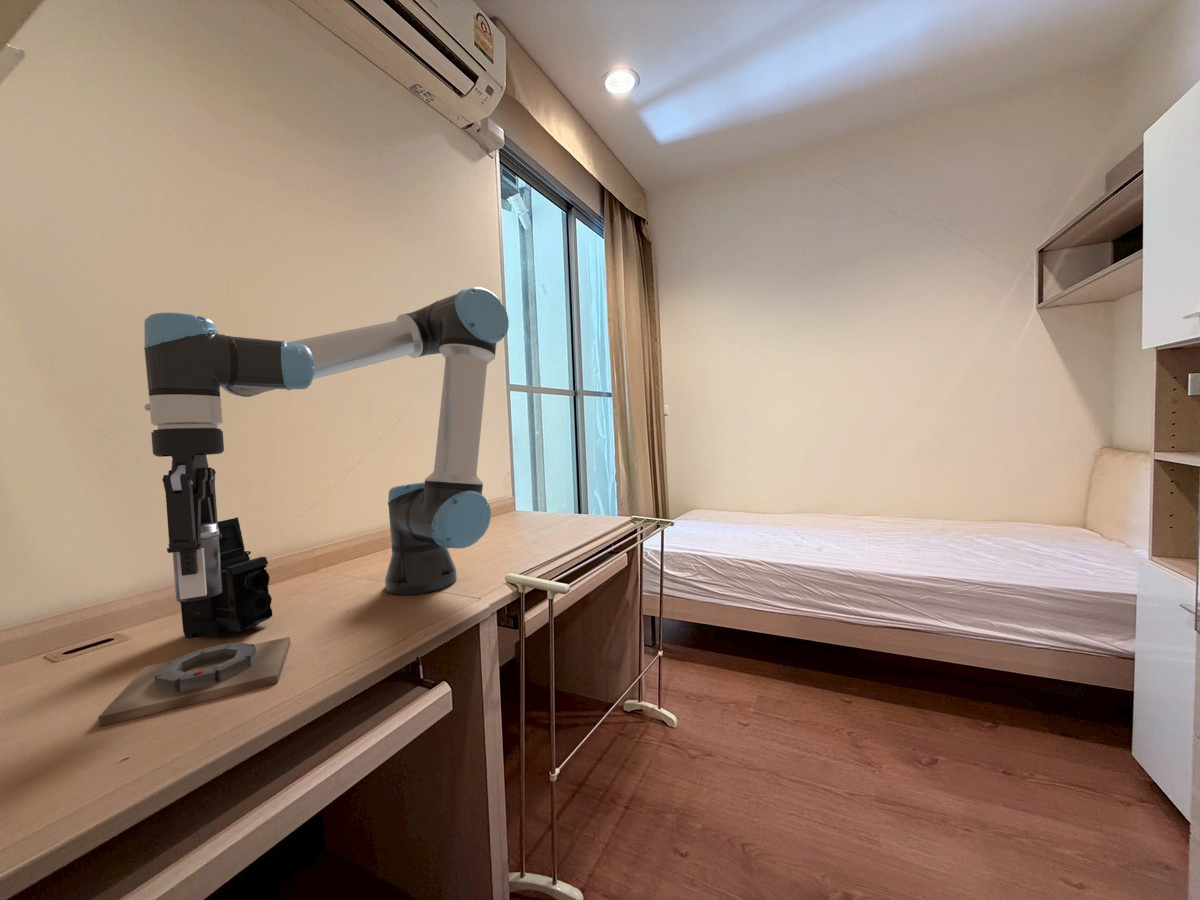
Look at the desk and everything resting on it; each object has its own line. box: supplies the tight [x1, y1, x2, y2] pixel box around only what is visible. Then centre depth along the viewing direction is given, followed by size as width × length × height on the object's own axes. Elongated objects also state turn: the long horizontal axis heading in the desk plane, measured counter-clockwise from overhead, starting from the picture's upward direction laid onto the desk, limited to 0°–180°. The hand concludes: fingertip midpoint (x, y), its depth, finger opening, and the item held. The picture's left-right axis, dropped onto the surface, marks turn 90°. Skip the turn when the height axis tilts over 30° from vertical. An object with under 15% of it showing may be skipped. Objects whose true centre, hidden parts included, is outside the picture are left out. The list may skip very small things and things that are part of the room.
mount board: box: [97, 636, 291, 727], centre depth 67 cm, size 18×14×3 cm
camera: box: [179, 517, 273, 639], centre depth 83 cm, size 10×14×20 cm
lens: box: [167, 522, 222, 603], centre depth 66 cm, size 6×5×10 cm
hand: (199, 590), depth 66 cm, fingers closed on lens, 5 cm apart
